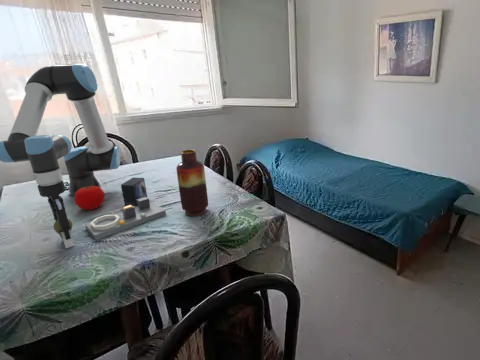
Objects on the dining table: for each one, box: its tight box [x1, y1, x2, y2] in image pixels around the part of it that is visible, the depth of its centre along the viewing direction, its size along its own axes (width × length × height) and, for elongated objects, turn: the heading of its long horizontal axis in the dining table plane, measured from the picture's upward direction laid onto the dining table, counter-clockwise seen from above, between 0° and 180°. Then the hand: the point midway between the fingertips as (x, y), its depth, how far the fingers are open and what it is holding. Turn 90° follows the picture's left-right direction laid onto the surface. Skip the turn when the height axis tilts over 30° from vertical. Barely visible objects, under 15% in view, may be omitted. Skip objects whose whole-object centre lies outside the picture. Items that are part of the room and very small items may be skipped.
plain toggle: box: [137, 196, 150, 210], centre depth 127 cm, size 3×4×4 cm
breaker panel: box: [84, 201, 167, 241], centre depth 120 cm, size 13×28×4 cm, turn 131°
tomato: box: [73, 185, 105, 210], centre depth 135 cm, size 11×12×10 cm
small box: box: [120, 177, 148, 207], centre depth 138 cm, size 11×6×10 cm, turn 168°
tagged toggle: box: [121, 205, 136, 219], centre depth 119 cm, size 3×4×4 cm
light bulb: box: [53, 218, 73, 242], centre depth 105 cm, size 6×6×10 cm
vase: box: [175, 149, 209, 217], centre depth 121 cm, size 11×11×26 cm
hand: (67, 242), depth 107 cm, fingers open, 6 cm apart
